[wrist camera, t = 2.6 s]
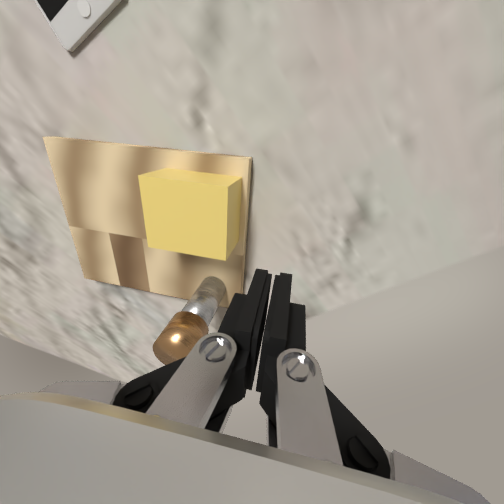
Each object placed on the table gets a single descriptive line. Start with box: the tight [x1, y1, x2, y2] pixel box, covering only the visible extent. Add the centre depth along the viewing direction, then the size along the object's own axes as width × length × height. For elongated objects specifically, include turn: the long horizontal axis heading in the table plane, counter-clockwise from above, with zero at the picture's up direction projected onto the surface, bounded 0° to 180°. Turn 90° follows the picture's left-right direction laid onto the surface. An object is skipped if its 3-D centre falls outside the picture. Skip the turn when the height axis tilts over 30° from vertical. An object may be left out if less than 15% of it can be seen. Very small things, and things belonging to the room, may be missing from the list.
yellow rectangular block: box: [138, 168, 242, 261], centre depth 21 cm, size 7×6×4 cm
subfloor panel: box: [43, 137, 252, 308], centre depth 25 cm, size 20×16×1 cm
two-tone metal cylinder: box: [153, 276, 226, 365], centre depth 22 cm, size 3×3×9 cm
